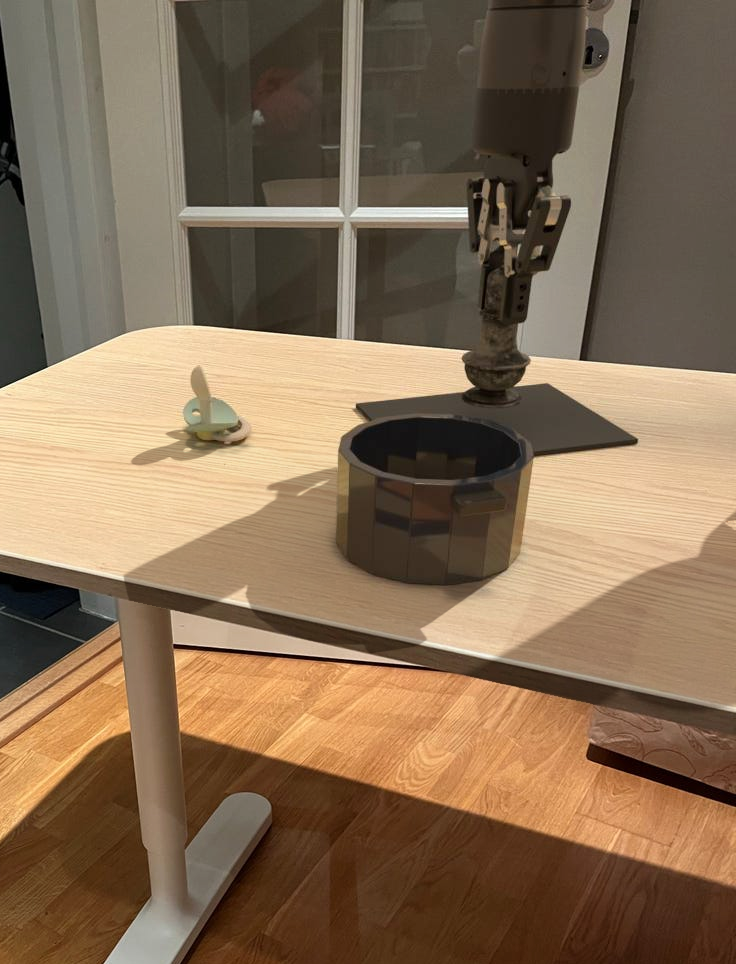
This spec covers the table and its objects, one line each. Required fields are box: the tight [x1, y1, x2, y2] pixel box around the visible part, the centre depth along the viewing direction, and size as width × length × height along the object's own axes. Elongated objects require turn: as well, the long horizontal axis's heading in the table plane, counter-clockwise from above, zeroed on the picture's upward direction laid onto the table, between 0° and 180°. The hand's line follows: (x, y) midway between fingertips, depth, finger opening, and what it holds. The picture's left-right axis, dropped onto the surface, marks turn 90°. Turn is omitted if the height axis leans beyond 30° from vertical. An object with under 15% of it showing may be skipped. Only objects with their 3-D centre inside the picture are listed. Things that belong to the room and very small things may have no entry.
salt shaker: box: [461, 260, 532, 408], centre depth 80 cm, size 6×6×12 cm
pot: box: [335, 413, 535, 586], centre depth 64 cm, size 13×16×7 cm
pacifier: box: [182, 364, 252, 443], centre depth 83 cm, size 7×6×6 cm
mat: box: [355, 382, 639, 457], centre depth 85 cm, size 20×16×1 cm
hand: (501, 315), depth 79 cm, fingers closed on salt shaker, 3 cm apart
